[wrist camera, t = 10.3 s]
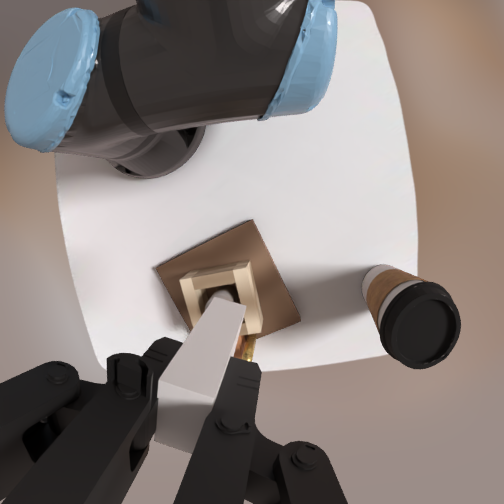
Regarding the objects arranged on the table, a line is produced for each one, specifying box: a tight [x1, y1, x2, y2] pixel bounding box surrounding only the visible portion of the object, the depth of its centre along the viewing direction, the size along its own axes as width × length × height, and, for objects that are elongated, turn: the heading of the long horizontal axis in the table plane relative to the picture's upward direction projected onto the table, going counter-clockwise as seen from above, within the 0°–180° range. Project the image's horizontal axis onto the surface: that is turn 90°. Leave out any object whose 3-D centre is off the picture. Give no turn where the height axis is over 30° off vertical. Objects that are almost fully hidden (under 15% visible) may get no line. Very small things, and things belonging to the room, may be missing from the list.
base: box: [156, 219, 301, 341], centre depth 36 cm, size 14×14×6 cm
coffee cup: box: [362, 264, 461, 369], centre depth 29 cm, size 8×8×15 cm
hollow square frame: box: [180, 260, 263, 359], centre depth 36 cm, size 13×8×4 cm, turn 13°
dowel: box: [242, 333, 257, 362], centre depth 35 cm, size 1×1×7 cm
